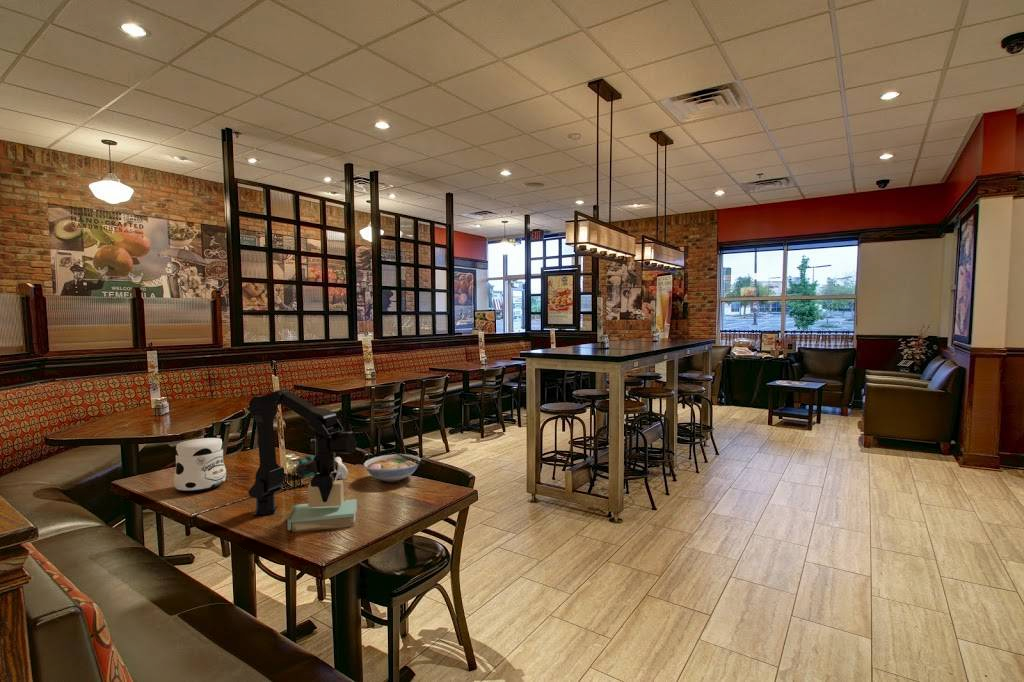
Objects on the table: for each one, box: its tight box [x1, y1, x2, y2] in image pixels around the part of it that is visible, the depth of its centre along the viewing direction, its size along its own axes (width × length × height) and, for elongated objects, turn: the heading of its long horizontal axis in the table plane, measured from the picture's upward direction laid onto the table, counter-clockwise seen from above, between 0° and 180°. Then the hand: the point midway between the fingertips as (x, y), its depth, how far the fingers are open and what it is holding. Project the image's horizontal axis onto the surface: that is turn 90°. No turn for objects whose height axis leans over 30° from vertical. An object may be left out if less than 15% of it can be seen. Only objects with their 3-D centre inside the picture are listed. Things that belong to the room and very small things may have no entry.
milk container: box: [173, 437, 227, 493], centre depth 190 cm, size 17×17×18 cm
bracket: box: [296, 454, 317, 479], centre depth 208 cm, size 18×7×8 cm, turn 60°
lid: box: [287, 498, 358, 531], centre depth 156 cm, size 13×19×3 cm
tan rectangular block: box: [307, 479, 345, 507], centre depth 156 cm, size 4×10×7 cm, turn 97°
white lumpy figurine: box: [317, 456, 349, 481], centre depth 198 cm, size 11×12×9 cm
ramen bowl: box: [363, 451, 426, 483], centre depth 199 cm, size 25×23×8 cm
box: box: [291, 503, 358, 533], centre depth 156 cm, size 13×18×3 cm
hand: (325, 499), depth 156 cm, fingers closed on tan rectangular block, 4 cm apart
